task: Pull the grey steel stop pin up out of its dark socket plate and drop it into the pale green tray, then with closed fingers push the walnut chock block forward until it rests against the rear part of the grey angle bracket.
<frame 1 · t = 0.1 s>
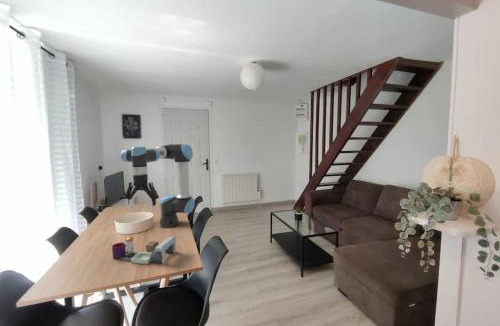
hand: (142, 210, 132), 28 cm above the table, fingers open, 13 cm apart
stop pin: (130, 247, 133), in the pin socket
tray: (143, 259, 131), on the table
grey angle bracket: (166, 257, 133), on the table
cup: (122, 255, 136), on the table, touching pin socket
chock: (152, 250, 142), on the table
pin socket: (130, 257, 133), on the table
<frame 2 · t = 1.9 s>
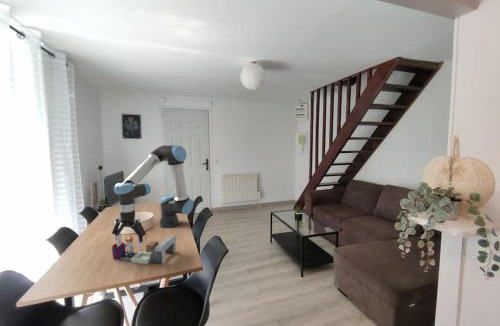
hand: (129, 246, 132), 7 cm above the table, fingers open, 13 cm apart
cup: (122, 255, 136), on the table, touching gripper, pin socket
everything else where it was.
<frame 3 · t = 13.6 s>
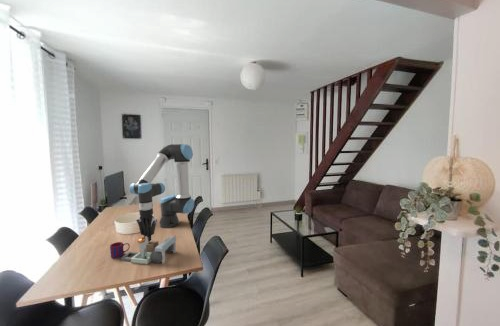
hand: (148, 245, 142), 3 cm above the table, fingers closed
stop pin: (143, 249, 130), in the tray
cup: (120, 255, 137), on the table
chock: (152, 250, 142), on the table, touching gripper
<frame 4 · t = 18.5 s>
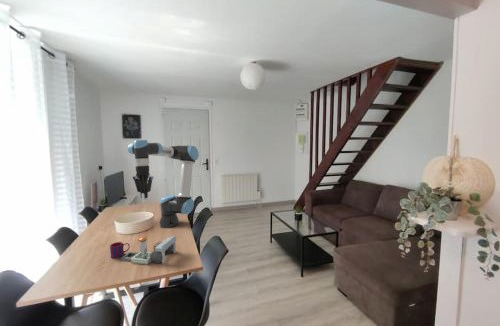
hand: (144, 203, 142), 29 cm above the table, fingers closed
chock: (160, 251, 141), on the table
at the end: stop pin inside the target area on the tray (0.6 cm from its centre), point 6.6 cm above the tray's base; chock inside the target area (0.6 cm from its centre), on the table; the gripper is holding nothing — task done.
